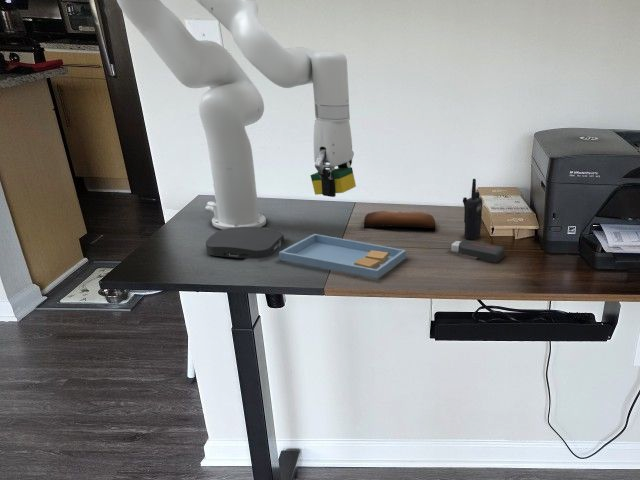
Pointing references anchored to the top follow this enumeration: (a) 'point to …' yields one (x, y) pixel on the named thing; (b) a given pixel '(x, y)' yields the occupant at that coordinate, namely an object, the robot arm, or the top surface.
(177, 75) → the robot arm
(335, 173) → the sponge
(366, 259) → the crumb
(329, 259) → the tray
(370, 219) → the sunglasses case
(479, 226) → the two-way radio
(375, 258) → the crumb
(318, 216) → the top surface
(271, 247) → the media streaming box
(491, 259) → the usb drive
